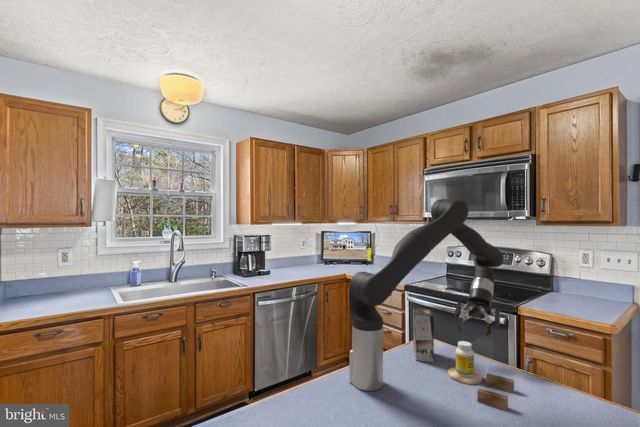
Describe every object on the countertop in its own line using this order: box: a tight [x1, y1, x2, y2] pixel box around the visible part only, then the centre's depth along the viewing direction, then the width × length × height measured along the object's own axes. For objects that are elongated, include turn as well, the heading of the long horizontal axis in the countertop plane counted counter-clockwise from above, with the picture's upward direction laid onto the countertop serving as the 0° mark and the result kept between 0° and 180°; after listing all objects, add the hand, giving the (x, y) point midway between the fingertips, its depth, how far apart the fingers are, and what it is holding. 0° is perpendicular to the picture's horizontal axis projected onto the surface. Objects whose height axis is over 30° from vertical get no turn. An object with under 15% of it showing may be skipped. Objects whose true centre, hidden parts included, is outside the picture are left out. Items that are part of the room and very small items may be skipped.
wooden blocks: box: [476, 372, 515, 412], centre depth 93 cm, size 7×13×3 cm, turn 142°
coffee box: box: [412, 308, 435, 363], centre depth 120 cm, size 9×6×16 cm
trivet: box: [447, 366, 483, 385], centre depth 104 cm, size 10×10×1 cm
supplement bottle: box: [455, 340, 475, 377], centre depth 105 cm, size 5×5×10 cm
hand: (473, 332), depth 112 cm, fingers open, 8 cm apart
